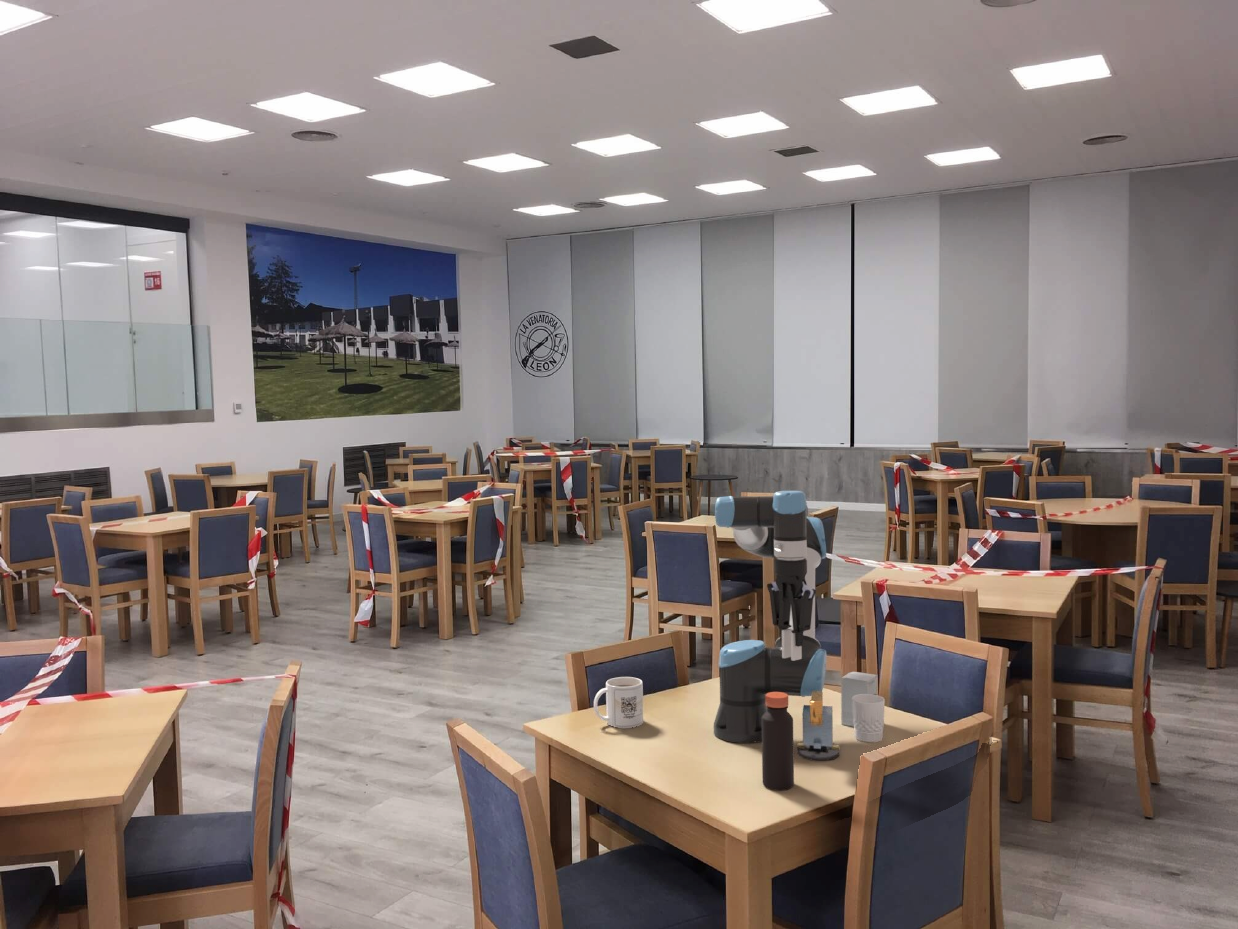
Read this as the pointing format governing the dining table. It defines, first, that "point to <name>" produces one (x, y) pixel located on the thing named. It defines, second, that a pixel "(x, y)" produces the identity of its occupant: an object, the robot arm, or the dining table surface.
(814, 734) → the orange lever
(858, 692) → the supplement box
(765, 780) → the bottle
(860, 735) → the white cup
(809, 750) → the dark grey cylinder
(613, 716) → the mug
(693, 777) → the dining table surface
